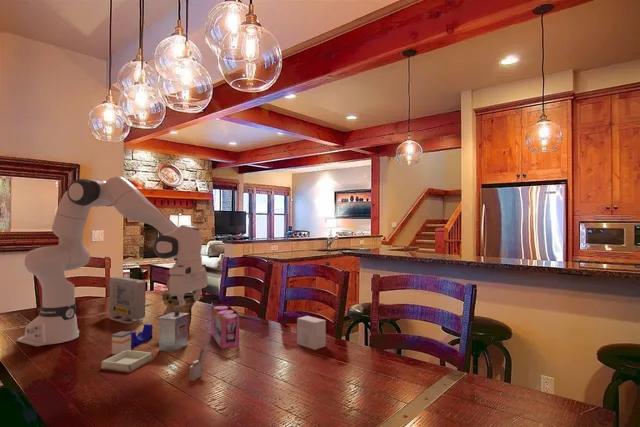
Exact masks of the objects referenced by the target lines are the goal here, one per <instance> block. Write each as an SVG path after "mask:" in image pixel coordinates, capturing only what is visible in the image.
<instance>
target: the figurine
mask: <svg viewBox="0 0 640 427" xmlns="http://www.w3.org/2000/svg"><path fill="white" fill-rule="evenodd" d="M170 276H171V275H170V274H169V276H168V280H167V282H166V284H165V288H166V289H164V290H163V292H162V293H161V296H162V299H161V300H162V301H163V294H164V293H169V279H170ZM169 295H170V293H169ZM170 297H172V296H171V295H170ZM164 305H165V304H164ZM165 306H166V308H165V310H164V311H163V314H164V315H166V314H169V313H171V312H172V310H171V308H170V306H169V305H165Z"/></svg>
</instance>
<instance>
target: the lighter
mask: <svg viewBox="0 0 640 427" xmlns="http://www.w3.org/2000/svg"><path fill="white" fill-rule="evenodd" d="M207 353H208V349H207V348H201V349H200V350H199V354H198V358H197V359H196V360H194V361H193V362H192V365H190V366H189V368H188V370H189V372H188V374H189V376H188V377H189V378H188V380H189V381H190V382H191V381H193V382H194V381H196V380H197V379H199V378H200V377H202V366H203V365H202V364H204V363H205V361H206V357H207Z"/></svg>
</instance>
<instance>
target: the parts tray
mask: <svg viewBox="0 0 640 427" xmlns="http://www.w3.org/2000/svg"><path fill="white" fill-rule="evenodd" d="M151 361H154V353H153V352H149V351H141V350H132V349H131V350H125V351H123V352H121V353H119V354H113V355H112V356H110V357H108V358H105V359H104V360H102V361H101V370H109V371H117V372H125V373H131V372H133V371H135V370H136V369H138V368H140V367H143V366H144V365H146V364H147V363H150V362H151Z"/></svg>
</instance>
